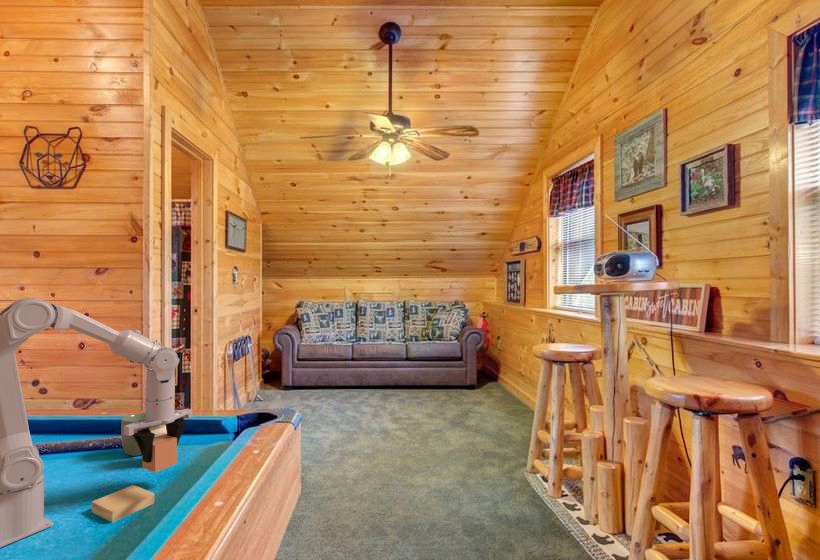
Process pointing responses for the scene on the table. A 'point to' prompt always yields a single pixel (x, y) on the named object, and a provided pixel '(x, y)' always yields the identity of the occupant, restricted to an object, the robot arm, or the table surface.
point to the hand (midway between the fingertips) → (159, 456)
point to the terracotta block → (162, 453)
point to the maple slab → (122, 503)
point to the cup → (129, 441)
